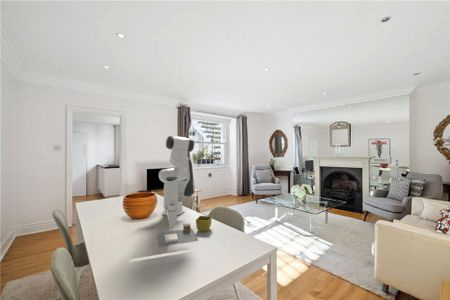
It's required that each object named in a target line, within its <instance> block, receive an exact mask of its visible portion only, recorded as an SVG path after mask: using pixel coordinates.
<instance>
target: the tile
mask: <svg viewBox="0 0 450 300" xmlns="http://www.w3.org/2000/svg"><path fill="white" fill-rule="evenodd" d="M175 241H178V237H177V234H176V233H175V234H168V235H165V243H168V242H175Z"/></svg>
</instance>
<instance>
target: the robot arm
mask: <svg viewBox="0 0 450 300" xmlns="http://www.w3.org/2000/svg"><path fill="white" fill-rule="evenodd" d="M165 147H166V148H167V149H168V150H171V152H170V158H169V164H170V165H171V166H173V167H174V168H164V169H161V170H160V171H159V172H158V178H159V180H160V181H161V182H162V183H164V184H163V195H164V197H163V208H164V209H163V210H162V213H161V215H164V216H166V217H167V220H168V227H169V228H170V229H172V228H173V226H174V225H176V224H177V218H178V215H179V216H180V215H182V214H183V213H185V210H183V202H182V197H191V196H193V195H194V194H195V192H196V186H195V182H194V173H193V172H194V171H193V163H192V161H191V159H190V158H189V156H188V153H191V152H193V150H194V149H195V141H194V139H192V138H187V137H183V136H173V135H168V137H166V139H165Z"/></svg>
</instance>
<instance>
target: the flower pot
mask: <svg viewBox="0 0 450 300" xmlns="http://www.w3.org/2000/svg"><path fill="white" fill-rule="evenodd" d="M212 219H213V218H212V216H208V215H199V216H198V217H197V218H196V219H195V225H196V230H197V231H198V232H204V233H207V232H209V230H210V228H211V226H212Z"/></svg>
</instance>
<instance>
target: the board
mask: <svg viewBox="0 0 450 300" xmlns="http://www.w3.org/2000/svg"><path fill="white" fill-rule="evenodd" d="M175 233H176V234H177V237H178V241H175V242H168V243H165V235H168V234H175ZM157 236H158V247H166V246H171V245H172V246H173V245H179V244H181V245H182V244H187V243H193V242H199V239H198V237H197V235H196V233H195V232H194V229H193V228H191V230H190V232H184V230H183V229H177V230H169V231H160V232H158V233H157Z"/></svg>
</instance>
